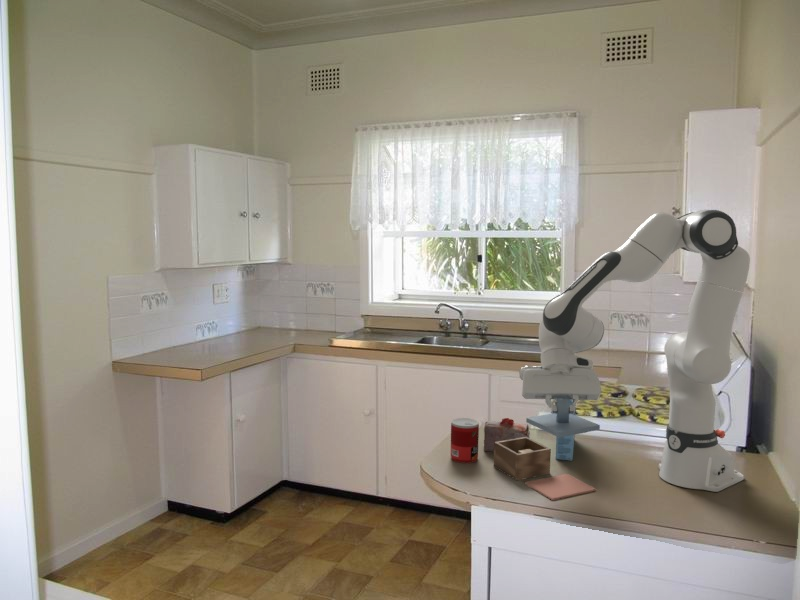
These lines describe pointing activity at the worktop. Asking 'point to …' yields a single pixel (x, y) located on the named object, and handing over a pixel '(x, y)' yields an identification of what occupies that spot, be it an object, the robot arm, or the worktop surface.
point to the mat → (560, 486)
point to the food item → (503, 432)
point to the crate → (522, 458)
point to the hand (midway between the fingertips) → (563, 412)
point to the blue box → (565, 445)
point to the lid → (562, 421)
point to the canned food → (464, 440)
